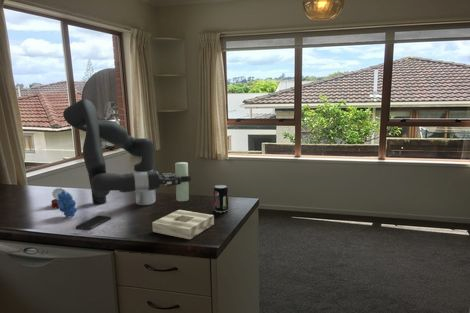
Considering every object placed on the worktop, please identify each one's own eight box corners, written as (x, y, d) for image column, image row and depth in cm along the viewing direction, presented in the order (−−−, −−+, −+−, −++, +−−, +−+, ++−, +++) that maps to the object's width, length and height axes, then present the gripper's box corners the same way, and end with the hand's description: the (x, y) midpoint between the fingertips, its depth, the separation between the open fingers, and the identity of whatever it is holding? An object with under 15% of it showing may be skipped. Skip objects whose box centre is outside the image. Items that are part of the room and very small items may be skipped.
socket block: (179, 218, 162) (178, 209, 161) (213, 224, 154) (213, 215, 153) (152, 231, 146) (152, 222, 145) (189, 239, 138) (189, 229, 137)
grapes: (51, 217, 165) (48, 192, 163) (64, 213, 171) (61, 188, 169) (68, 221, 160) (65, 195, 158) (81, 216, 166) (78, 191, 164)
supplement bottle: (109, 201, 189) (107, 179, 187) (100, 205, 183) (98, 182, 181) (98, 200, 192) (96, 178, 190) (89, 204, 185) (87, 181, 183)
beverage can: (228, 212, 168) (228, 187, 166) (214, 213, 168) (213, 188, 166) (227, 208, 175) (227, 184, 173) (214, 209, 174) (213, 184, 172)
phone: (112, 216, 163) (90, 228, 149) (112, 219, 163) (90, 231, 149) (97, 215, 165) (74, 226, 151) (97, 217, 165) (74, 229, 151)
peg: (181, 197, 151) (180, 161, 149) (191, 198, 149) (190, 162, 146) (173, 200, 147) (172, 163, 144) (184, 201, 144) (182, 164, 142)
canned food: (68, 210, 190) (75, 193, 192) (70, 214, 181) (78, 195, 183) (45, 204, 184) (53, 185, 186) (47, 207, 176) (55, 187, 178)
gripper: (148, 175, 134) (193, 171, 140) (142, 168, 147) (183, 165, 153) (149, 195, 135) (193, 190, 141) (143, 186, 148) (184, 182, 154)
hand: (188, 177), depth 147 cm, fingers closed on peg, 5 cm apart
